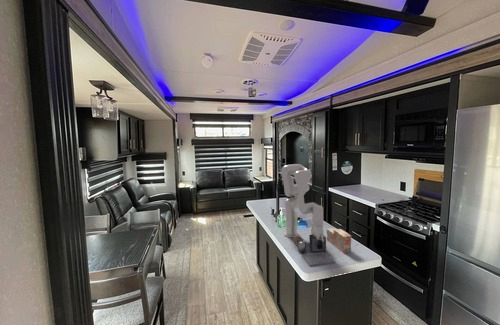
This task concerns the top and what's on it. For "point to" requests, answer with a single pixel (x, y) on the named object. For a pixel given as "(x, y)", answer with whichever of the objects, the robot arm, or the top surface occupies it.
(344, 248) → the stack of blocks
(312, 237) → the small box
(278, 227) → the top surface
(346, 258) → the top surface
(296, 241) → the walnut block
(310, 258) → the slate board
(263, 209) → the top surface
